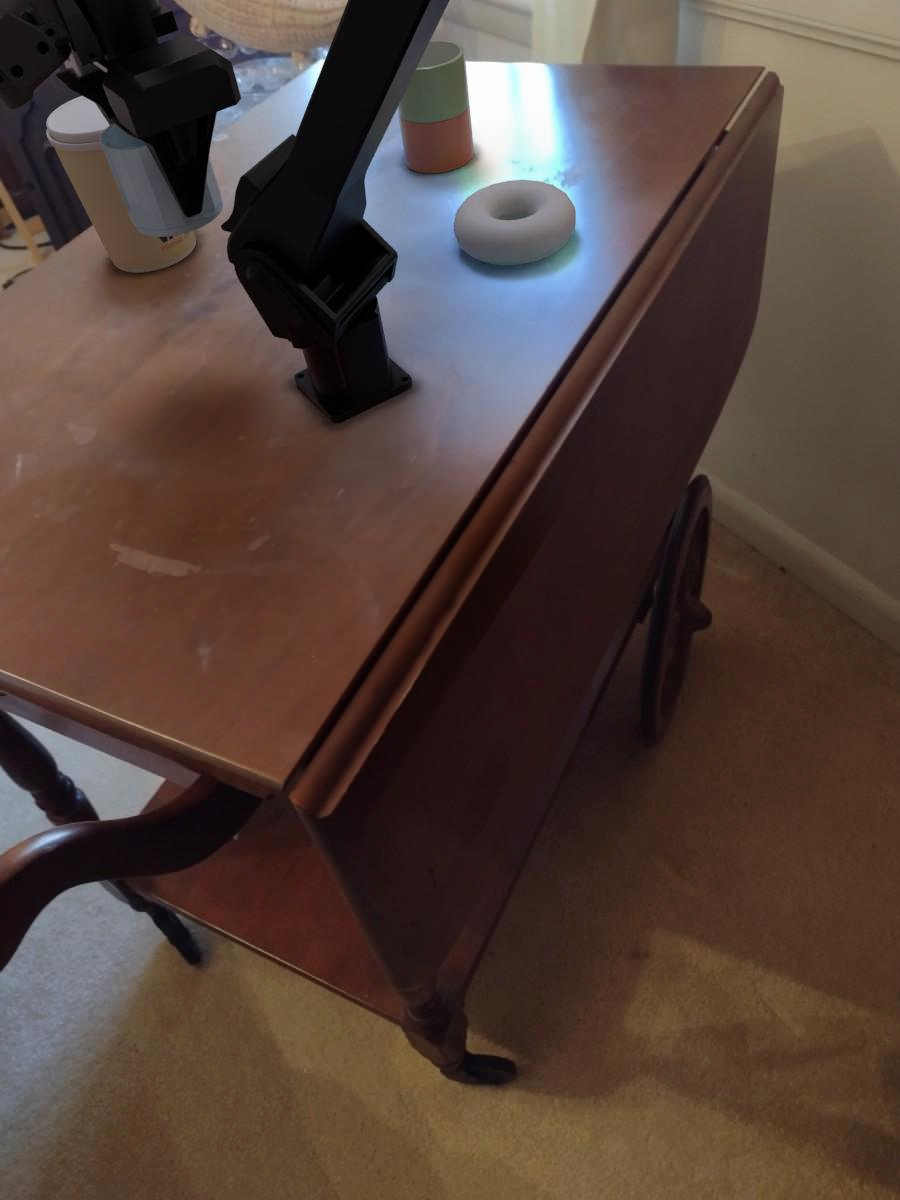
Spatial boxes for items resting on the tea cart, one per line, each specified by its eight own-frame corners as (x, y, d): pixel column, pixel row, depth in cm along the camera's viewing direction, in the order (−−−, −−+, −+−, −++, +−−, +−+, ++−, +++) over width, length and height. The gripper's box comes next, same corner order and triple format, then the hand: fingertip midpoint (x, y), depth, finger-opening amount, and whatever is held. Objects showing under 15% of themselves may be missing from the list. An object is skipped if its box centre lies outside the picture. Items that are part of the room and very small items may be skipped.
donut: (539, 285, 71) (597, 221, 76) (537, 244, 68) (597, 181, 73) (433, 261, 75) (494, 202, 80) (427, 221, 73) (490, 163, 77)
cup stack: (487, 156, 86) (478, 51, 79) (429, 180, 84) (414, 75, 78) (449, 135, 90) (438, 34, 83) (392, 158, 88) (376, 56, 82)
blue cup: (238, 212, 59) (212, 124, 55) (154, 247, 58) (120, 159, 54) (200, 183, 63) (173, 99, 59) (120, 215, 61) (86, 130, 57)
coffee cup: (182, 278, 78) (128, 133, 69) (85, 278, 80) (20, 137, 71) (221, 223, 84) (176, 82, 75) (129, 224, 86) (75, 87, 77)
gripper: (-119, -78, 51) (14, 197, 63) (-33, -15, 40) (109, 303, 52) (69, -129, 54) (162, 141, 66) (196, -84, 43) (280, 230, 55)
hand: (174, 198), depth 60 cm, fingers closed on blue cup, 6 cm apart
